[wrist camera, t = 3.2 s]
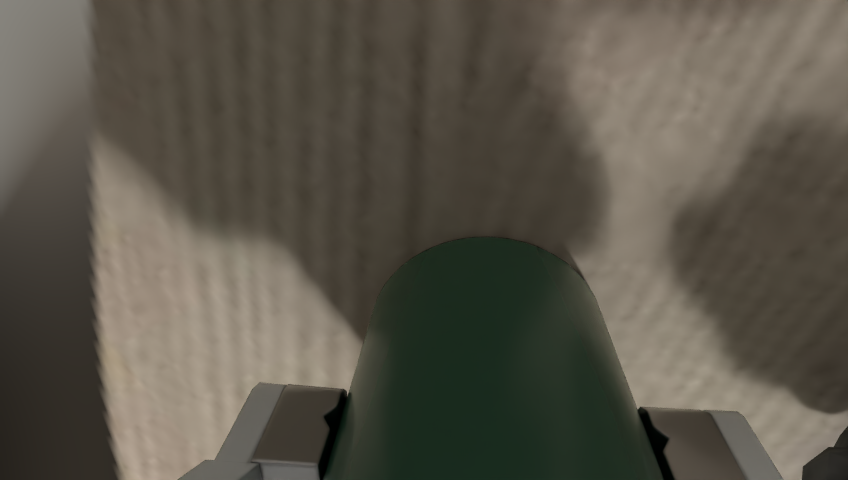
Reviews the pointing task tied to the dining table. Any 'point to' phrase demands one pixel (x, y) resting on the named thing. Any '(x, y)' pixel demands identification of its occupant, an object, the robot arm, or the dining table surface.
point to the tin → (489, 376)
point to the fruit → (829, 462)
